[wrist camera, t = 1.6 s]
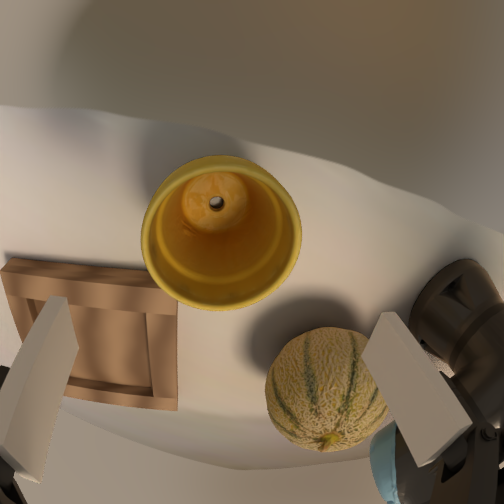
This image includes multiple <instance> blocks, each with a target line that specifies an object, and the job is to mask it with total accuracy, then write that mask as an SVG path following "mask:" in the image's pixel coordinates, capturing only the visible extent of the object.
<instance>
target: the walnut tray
mask: <svg viewBox="0 0 504 504" xmlns="http://www.w3.org/2000/svg"><path fill="white" fill-rule="evenodd" d="M0 274H1V278H2V282H3V286H4V289H5V293H6V296H7V300H8V303H9V306H10V309H11V312H12V315H13V318H14V321H15V324H16V327H17V330H18V333H19V335H20V338H21V341H22V343H23V342H24V340H25V338H26V337H27V335H28V333H29V331H30V329H31V327H32V326H33V324H34V322H35V320H36V319H37V317H38V315H39V313H40V312H41V310H42V308H43V307H44V305H45V303H46V302H47V300H48V298H49V297H50V295H53V296H60V297H67V301H68V306H69V310H70V315H71V319H72V323H73V327H74V331H75V335H76V339H77V343H78V346H79V350H78V353H77V355H76V358H75V361H74V364H73V367H72V370H71V373H70V375H69V378H68V382H67V385H66V388H65V391H64V394H63V396H67V397H72V398H77V399H82V400H88V401H94V402H100V403H106V404H113V405H120V406H128V407H137V408H146V409H157V410H170V411H177V405H178V382H177V312H178V301H177V300H175V299H174V298H172V297H171V296H169V295H168V294H167V293H166V292H164V291H163V290H162V289H161V288H160V287H159V286H158V285H157V284H156V282H155V281H154V280H153V278H152V277H151V275H150V273H149V271H143V270H131V269H119V268H108V267H97V266H87V265H76V264H66V263H56V262H47V261H37V260H28V259H19V258H11V259H10V260H9V261H8V263H7V264H6V265H5V266H4V267H3V268H2V269H1V270H0Z"/></svg>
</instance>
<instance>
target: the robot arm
mask: <svg viewBox="0 0 504 504" xmlns="http://www.w3.org/2000/svg"><path fill="white" fill-rule="evenodd" d="M409 330H410V331H409ZM409 330H408V328H407V327H406V326H405V324H404V323H403V322H402V320H401V319H400V318H399V316H398V315H397V314H396V312H382V313H381V315H380V318H379V320H378V322H377V324H376V326H375V328H374V331H373V333H372V335H371V337H370V339H369V341H368V343H367V345H366V347H365V349H364V351H363V353H362V355H361V357H362V359H363V361H364V363H365V364H366V366H367V368H368V370H369V372H370V374H371V376H372V377H373V379H374V381H375V383H376V385H377V387H378V389H379V391H380V393H381V394H382V396H383V398H384V400H385V402H386V404H387V406H388V408H389V410H390V412H391V414H392V416H393V418H394V421H392V422H391V423H389V424H388V425H387V426H385V427H384V428H382V429H381V430H379V431H378V432H377V433H376V434H375V435H374V437H373V439H372V441H371V444H370V463H371V469H372V473H373V477H374V480H375V483H376V485H377V488H378V490H379V492H380V494H381V496H382V498H383V499H384V500H385V501H387V504H504V467H503V468H502V469H500V468H499V464H500V463H502V462H503V461H504V302H503V300H502V298H501V297H500V295H499V293H498V291H497V289H496V287H495V285H494V283H493V281H492V280H491V278H490V276H489V274H488V273H487V271H486V270H485V269H484V268H483V267H482V266H480V265H479V264H478V263H477V262H475V261H473V260H470V259H463V260H459V261H456V262H454V263H452V264H450V265H448V266H447V267H445V268H444V269H443V270H441V271H440V272H439V273H438V274H437V275H436V276H435V277H434V278H433V279H432V280H431V281H430V282H429V283H428V284H427V286H426V287H425V288H424V290H423V291H422V292H421V294H420V295H419V297H418V299H417V301H416V303H415V305H414V307H413V309H412V312H411V315H410V320H409ZM423 349H424V350H426V351H427V352H429V353H430V354H432V355H434V356H435V357H437V358H439V359H440V360H442V361H443V362H445V363H447V364H448V365H449V367H450V368H451V369H452V371H453V372H454V374H455V375H454V376H452V377H451V378H449V377H448V376H447V375H445V374H444V373H443V372H442V371H438V370H437V368H436V367H435V365H434V364H433V363H432V361H431V360H430V358H429V357H428V355H427V354H426V353H425V351H424V350H423ZM78 350H79V346H78V343H77V339H76V335H75V331H74V327H73V323H72V319H71V315H70V310H69V306H68V301H67V297H60V296H53V295H50V297H49V298H48V300H47V302H46V303H45V305H44V307H43V308H42V310H41V312H40V313H39V315H38V317H37V319H36V320H35V322H34V324H33V326H32V327H31V329H30V331H29V333H28V335H27V337H26V338H25V340H24V342H23V344H22V346H21V348H20V350H19V352H18V354H17V356H16V358H15V360H14V362H13V364H12V366H11V368H9V367H5V366H2V365H1V366H0V504H27V502H26V500H25V498H24V496H23V494H22V492H21V490H20V488H19V486H18V484H17V482H16V481H15V479H14V478H13V476H14V472H15V471H16V472H17V473H18V474H19V475H20V476H21V477H22V478H25V479H28V480H31V481H34V482H37V483H40V484H41V482H42V477H43V472H44V467H45V463H46V458H47V453H48V449H49V445H50V441H51V436H52V433H53V429H54V425H55V421H56V418H57V414H58V411H59V407H60V404H61V401H62V397H63V394H64V391H65V388H66V385H67V382H68V378H69V375H70V373H71V370H72V367H73V364H74V361H75V358H76V355H77V353H78Z"/></svg>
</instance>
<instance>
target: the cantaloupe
mask: <svg viewBox="0 0 504 504" xmlns="http://www.w3.org/2000/svg"><path fill="white" fill-rule="evenodd" d="M368 341H369V339H368V338H366V337H365V336H364V335H362V334H361V333H358V332H355V331H353V330H346V329H342V328H337V327H321V328H317V329H313V330H311V331H309V332H305V333H303V334H302V335H300V336H298V337H296V338H293V339H292V340H291V341H289V342H288V343H287V344H286V345H285V346H284V348H283V349H282V350H281V352H280V353H279V355H278V356H277V357H276V358H275V360H274V362H273V363H272V365H271V367H270V370H269V372H268V375H267V378H266V384H265V395H266V402H267V410H268V411H269V413H268V414H269V416H270V419H271V421H272V423H273V424H274V426H275V427H276V429H277V430H278V431H279V432H280V433H281V434H282V435H283V436H285V437H286V438H287V439H288V440H289V441H290V442H292V443H293V444H295V445H297V446H299V447H301V448H304V449H309V450H317V451H320V452H333V451H338V450H343V449H348V448H351V447H353V446H355V445H357V444H359V443H361V442H362V441H363V440H365V439H366V438H367V437H368V436H369V435H371V434H372V433H373V432H374V431H375V430H376V429H377V428H378V427H379V426H380V424H381V423H382V422H383V420H384V418H385V417H386V415H387V413H388V411H389V408H388V406H387V404H386V402H385V400H384V398H383V396H382V394H381V393H380V391H379V389H378V387H377V385H376V383H375V381H374V379H373V377H372V376H371V374H370V372H369V370H368V368H367V366H366V364H365V363H364V361H363V359H362V357H361V355H362V353H363V351H364V349H365V347H366V345H367V343H368Z"/></svg>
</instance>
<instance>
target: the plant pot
mask: <svg viewBox="0 0 504 504" xmlns="http://www.w3.org/2000/svg"><path fill="white" fill-rule="evenodd" d="M213 197H221V198H222V199H223V201H224V203H223V205H222V207H221V208H219V209H214V208H212V207H211V206H210V200H211V199H212V198H213ZM301 241H302V227H301V220H300V216H299V213H298V210H297V208H296V205H295V203H294V201H293V200H292V198H291V196H290V195H289V193H288V192H287V191H286V190H285V188H284V187H283V186H282V185H281V184H280V183H279V182H278V181H277V180H276V179H275V178H274V177H273V176H272V175H271V174H270V173H269V172H267V171H266V170H265V169H263V168H262V167H260V166H259V165H257V164H255V163H253V162H251V161H248V160H246V159H243V158H240V157H235V156H228V155H213V156H207V157H202V158H199V159H196V160H193V161H191V162H188V163H186V164H184V165H183V166H181V167H179V168H178V169H176V170H175V171H174V172H173V173H171V174H170V175H169V176H168V177H167V178H166V179H165V180H164V182H163V183H162V184H161V185H160V187H159V188H158V189H157V191H156V192H155V194H154V196H153V198H152V200H151V202H150V204H149V206H148V208H147V211H146V213H145V216H144V220H143V224H142V229H141V250H142V255H143V259H144V262H145V265H146V267H147V269H148V271H149V273H150V275H151V277H152V278H153V280H154V281H155V282H156V284H157V285H158V286H159V287H160V288H161V289H162V290H163V291H164V292H166V293H167V294H168V295H169V296H171V297H172V298H174V299H175V300H177V301H179V302H181V303H183V304H186V305H188V306H191V307H194V308H197V309H202V310H209V311H228V310H235V309H239V308H243V307H247V306H249V305H252V304H254V303H256V302H258V301H260V300H262V299H264V298H265V297H267V296H268V295H270V294H271V293H272V292H274V291H275V290H276V289H277V288H278V287H279V286H280V285H281V284H282V283H283V282H284V281H285V279H286V278H287V277H288V276H289V274H290V273H291V271H292V269H293V267H294V265H295V263H296V261H297V259H298V255H299V252H300V248H301Z"/></svg>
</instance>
